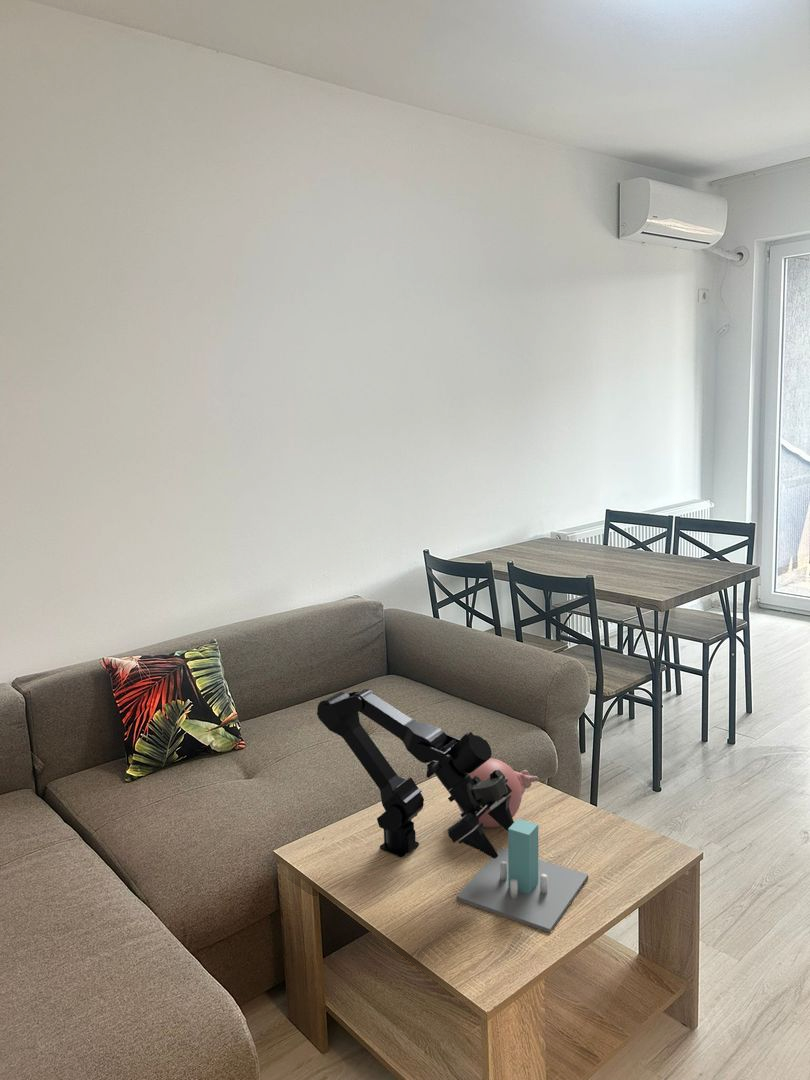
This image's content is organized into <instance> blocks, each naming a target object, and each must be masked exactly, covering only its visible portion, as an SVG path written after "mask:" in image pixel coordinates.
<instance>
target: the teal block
mask: <svg viewBox="0 0 810 1080" xmlns="http://www.w3.org/2000/svg"><path fill="white" fill-rule="evenodd" d="M507 838H508V839H507V843H508V844H507V845H508V846H507V847H508V848H507V850H508V882H509V888H510V880H511V879H516V880H517V881H518V891H520V892H523V893H526V894H530V893H531V891H532V890H533V889H534V888H535V886H536V885H537V884H538V859H539V824H538V823H535V822H531V821H528V820H524V819H522V818H517V819H516V820H515V821H514V823H513V824H512V825H511V826H510V827H509V828H508V832H507Z"/></svg>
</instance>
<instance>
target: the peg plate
mask: <svg viewBox="0 0 810 1080" xmlns="http://www.w3.org/2000/svg"><path fill="white" fill-rule="evenodd" d="M496 852H497V854H498V857H497V858H495V859H494V858H492V857H490V858H489V860H488V861H487V862H486V863H485V864H484V865H483V866H482V867H481V869H479V871H478V872H477V873H476V874H475V875H474V876H473V877H472V878H471V880H469V881H468V882H467V884H466V885H465V886H464V887H463V888H462V890H461V891H460V892H458V893H457V895H456V897H455V899H456V901H459V902H461V903H465V904H467V905H470V906H472V907H476V908H479V909H482V910H484V911H488V912H490V913H493V914H495V915H499V916H502V917H504V918H507V919H509V920H512V921H516V922H518V923H521V924H524V925H527V926H529V927H533V928H535V929H538V930H541V931H544V932H546V933H550V934H551V933H552V931H553V930H554V929H555V927H556V925H557V924H558V923H559V921H560V920H561V918H562V917H563V915H564V914H565V912H566V911H567V909H568V908H569V907H570V905H571V904H570V903H572V902H573V901H574V899H575V898H576V897H577V895H578V893H579V892H580V891H581V889H582V888H581V887H583V886H584V885H585V883H586V882H587V880H588V879H589V873H584V872H582V871H579V870H575V869H572V868H569V867H565V866H562V865H559V864H555V863H553V862H548V861H545V860H542V859H539V858H538V884H537V885H536V886H535V888H534V889H533V890H532V891H531V893H530V894H526V893H523V892H520V891H518V881H517V880H516V879H511V880H510V888H509V882H508V848H507V849H506V848H503V847H500V848H499V849H498V850H497V851H496ZM583 884H584V885H583Z"/></svg>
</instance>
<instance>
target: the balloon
mask: <svg viewBox="0 0 810 1080" xmlns="http://www.w3.org/2000/svg"><path fill="white" fill-rule="evenodd" d="M495 770H500V771H501V772H502V773H503V774H504V776H505V778H507V779H508V782H507V783H506V784H507V785H508V786H509V787H510V789H511V790H512V792H511V793H510V794H508V795H507V796H506V798H507V797H508V796H510V795H511V798H510V802H509V809H510V813H511V816H512V818H514V817H515V815H516V814H517V812H518V811H519V809H520V806H521V803H522V798H523V797H522V796H523V794H524V793H525V792H526V789H530V788H531V786H532V783H534V782H538V781H539V780H540V778H539V776H536V775H531V774H530V773H529V771H528V770H527V769H523V770H521V772H519V771H515V770H514V769H513V768H512V767H511V766H510V765H509V764H507V763H505V762H504V761H502V760H500V759H497V758H492V757H491V758H490V759H489V760H487V761H486V762H485V763H484V764H482V765H481V766H480V767H478V768H477V769H476V770H475V771H473V772H472V773H469V774H470V775H471V777H472V778H473V777H475V776H477V777H479V779H480V780H481V781H485V780H487V779H488V778H490V774H491V773H492V772H493V771H495ZM466 777H467V776H466ZM456 805H457V807H458V809H459V810H460V812H461V814H462V813H463V811H462V809H461V808H460V807H459V805H458V804H457V803H456ZM480 807H482V805H481V806H480ZM490 810H491V809H488V810H487V811H486V812H485V813H484V814H483V815H482V816H481V817H480V818H479V824H478V825H480V824H481V823H483V828H495V827H496V828H497V827H500V826H501V825H500V824H499V823H498V822H496V821H495V820H494V819H493V818H492V817H491V816H490V815H489V814H488V812H489V811H490ZM476 812H477V811H476ZM476 812H475V813H476ZM501 827H502V826H501Z"/></svg>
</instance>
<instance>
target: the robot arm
mask: <svg viewBox="0 0 810 1080" xmlns="http://www.w3.org/2000/svg"><path fill="white" fill-rule="evenodd" d="M360 713H361V714H362V715H364V716H365V717H366V718H368V719H369V720H371V721H373V722H374V723H376V724H377V725H378V726H380V727H381V728H383V729H385V730H386V731H387V732H389V733H390V734H392V735H393V736H395V737H397V738H398V739H399V740H400V741H401V742H402V743H403V745H404V747H405V748H406V750H407V752H408V753H409V754H411V755H412V756H413V757H414V758H415V759H416V760H417V761H418V762H420V763H423V764H427V765H426V767H427V768H426V778H427V779H429V778H431V777H433V775H434V774H435V777H436V778H438V780H439V781H440V783H441V784H442V786H443V787H444V788H445V789H446V791H447V793H448V794H449V795H450V796H449V797H448V798H447V799H448V801H449V802H450V803H452V802H453V801H455V803H456V805H457V804H458V805H459V807H460V808H461V809H462V811H463V813H462V812H461V814H460V817H461V818H459V819H458V820H456V822H454V823H453V825H451V826H450V827H448V829H447V836H448V837H449V838H450V840H451V841H452V843H454V844H455V843H457V842H458V844H465V845H467V846H469V847H471V848H473V849H476V850H478V851H479V852H481V853H482V854H485V855H486V856H489V858H494V859H495V858H497V857H498V854H497V851H496V849H495V847H494V845H493V844H492V843H491V841H490V840H489V838H488V837H487V836H486V834H485V831H484V827H483V823H481V824H480V825H478V824H479V818H480V817H481V816H482V815H483V814H484V813H485V812H486V811H487V810H488V809H491V810H490V811H489V812H488V814H489V815H490V816H491V817H492V818H493V819H494V820H495V821H496V822H498V823H499V824H500V825H501V827H502V828H503V829H504V830H505V831H506V832H507V833H508V828H509V827H510V826H511V825H512V824H513V823H514V822H515V821H514V819H513V818H514V817H513V818H512V816H511V813H510V809H509V802H510V798H511V795H510V796H508V797H507V798H506V796H507V795H508V794H510V793H511V792H512V790H511V789H510V787H509V786H508V785H507V784H506V783H507V782H508V779H507V778H505V776H504V774H503V773H502V772H501V771H500V770H495V771H493V772H492V773H491V774H490V778H488V779H487V780H485V781H481V780H480V779H479V777H477V776H475V777H473V778H472V777H471V775H470V774H469V773H472V772H473V771H475V770H476V769H477V768H478V767H480V766H481V765H482V764H484V763H485V762H486V761H487V760H489V759H490V758H492V754H493V753H492V748H491V745H490V744H489V743H488V741H487V740H486V739H484V738H483V737H481V736H479V735H475V734H474V733H473V732H472V731H471V730H469V731H468V732H467V733H465V734H464V735H463V736H462V737H460V738H458V737H456V736H453V735H451V734H448V733H446V732H445V731H444V730H443V729H442V728H439V727H437V726H435V725H433V724H430V723H428V722H422V721H417V720H415V719H412V717H410V716H408V715H407V714H405V713H403V711H400V710H399V709H397V708H395V707H394V706H393V705H391V704H389V703H388V702H386V701H385V700H384V699H382V698H381V697H379V696H377V695H375V692H374V691H373V690H371V689H370V688H363V689H362V690H355V691H352V692H349V693H347V692H345V691H344V692H343V691H337V692H336V693H334V694H332V695H330V696H329V697H326V698H325V699H323V700H321V701H319V703H318V704H317V712H316V715H317V717H318V719H319V721H320V722H321V723H322V724H323V725H324V726H325V727H326V728H327V729H328V730H329V731H330V732H332V733H334V734H336V735H338V736H340V737H341V738H342V739H343V740H344V742H345V743H346V744H347V745H348V747H349V749H350V750H351V751H352V753H353V755H355V757H356V758H357V760H358V761H359V763H360V764H361V766H362V767H363V768H364V769H365V771H366V772H367V774H368V775H369V776H370V778H371V779H372V780H373V782H374V784H375V786H377V787H378V789H379V792H380V798H381V805H382V807H383V808H384V812H383V813H381V815H379V816H378V817H377V818H376V820H377V824H378V827H379V828H380V829H383V843H382V844H380V845H379V849H380V850H382V851H384V852H387V853H390V854H391V855H394V856H396V857H398V858H404V857H405V856H406V855H408V854H409V853H410V852H412V851H413V850H414V849H416V848H417V847H419V846H420V843H419V841H417V840H416V839H417V838H416V830H415V822H413V821H412V820H413V819H414V818H415V817H418V814H419V813H420V812H421V811H422V810H423V809H424V805H425V803H424V801H425V798H424V796H423V795H422V792H423V791H422V790H421V789H420V788H419V787H418V786H417V785H416V782H415V780H414V779H413V778H412V777H410V776H409V777H408V778H407V779H405V778H403V777H401V776H399V775H398V774H397V772H396V771H395V770H394V769H393V767H392V766H391V764H390V762H389V761H388V760H387V758H386V757H385V756H384V755H383V753H382V752H381V750H379V747H378V746H377V744H375V742H374V741H373V739H372V738H371V737H370V735H369V734H368V732H367V731H366V730H365V728H364V726H362V723H361V721H360V715H359V714H360ZM466 776H467V777H466ZM458 805H457V806H458ZM481 805H482V807H480V806H481ZM459 807H458V808H459ZM476 811H477V812H476ZM475 812H476V813H475Z"/></svg>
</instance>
